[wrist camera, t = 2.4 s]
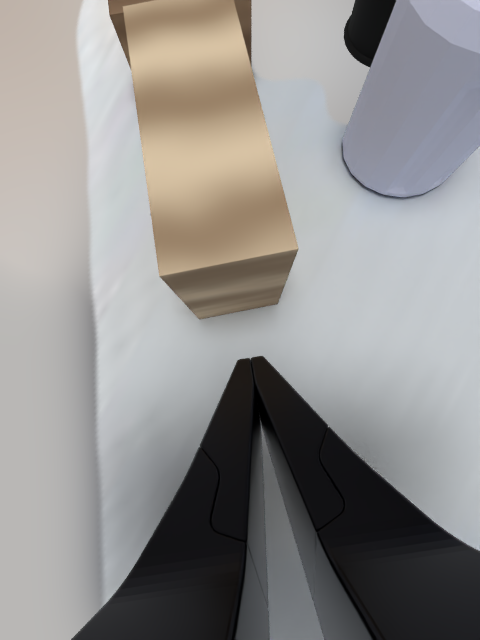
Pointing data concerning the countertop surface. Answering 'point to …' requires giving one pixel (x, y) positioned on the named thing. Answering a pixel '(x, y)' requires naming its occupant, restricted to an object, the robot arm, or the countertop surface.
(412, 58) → the soap bottle
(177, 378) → the countertop surface
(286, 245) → the bar
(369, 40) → the aerosol can
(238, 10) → the stop block
